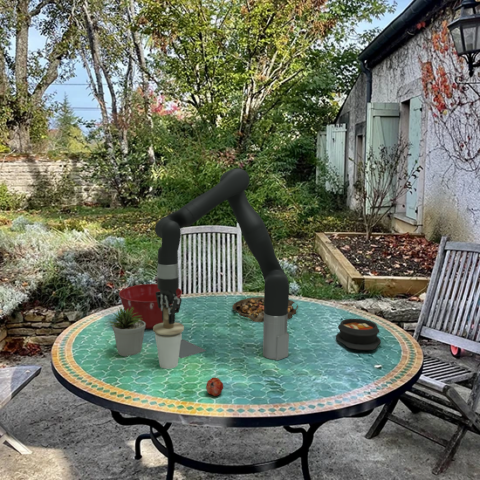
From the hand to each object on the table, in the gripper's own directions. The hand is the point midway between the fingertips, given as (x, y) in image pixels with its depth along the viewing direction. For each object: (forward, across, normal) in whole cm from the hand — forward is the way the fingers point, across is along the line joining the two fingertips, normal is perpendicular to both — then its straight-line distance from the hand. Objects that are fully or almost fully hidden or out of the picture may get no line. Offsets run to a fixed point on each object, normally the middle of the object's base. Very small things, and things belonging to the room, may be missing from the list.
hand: (168, 321), depth 173 cm
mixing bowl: (+17, +45, -20) cm, 52 cm away
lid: (+3, 0, 0) cm, 3 cm away
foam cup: (+17, 0, 0) cm, 17 cm away
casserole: (+18, -30, -75) cm, 83 cm away
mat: (+17, +10, -13) cm, 24 cm away
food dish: (+18, +25, -75) cm, 81 cm away
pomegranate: (+17, -27, 0) cm, 32 cm away
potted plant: (+17, +21, +5) cm, 28 cm away
